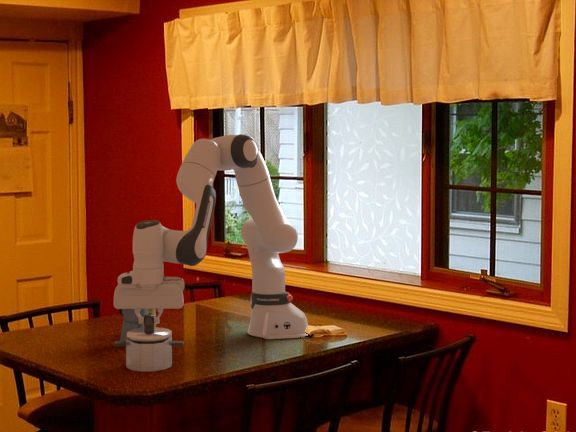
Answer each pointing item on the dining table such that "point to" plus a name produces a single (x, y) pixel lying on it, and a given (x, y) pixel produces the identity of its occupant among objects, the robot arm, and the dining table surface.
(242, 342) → the dining table surface
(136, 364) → the pot
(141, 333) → the lid
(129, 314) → the moka pot
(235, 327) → the dining table surface
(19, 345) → the dining table surface
